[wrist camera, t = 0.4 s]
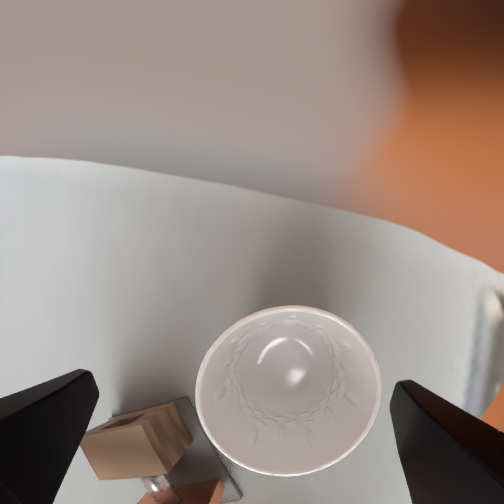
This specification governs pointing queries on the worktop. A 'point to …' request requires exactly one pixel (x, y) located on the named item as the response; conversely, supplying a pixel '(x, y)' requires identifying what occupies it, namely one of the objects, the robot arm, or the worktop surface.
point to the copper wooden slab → (180, 491)
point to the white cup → (288, 390)
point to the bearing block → (157, 448)
